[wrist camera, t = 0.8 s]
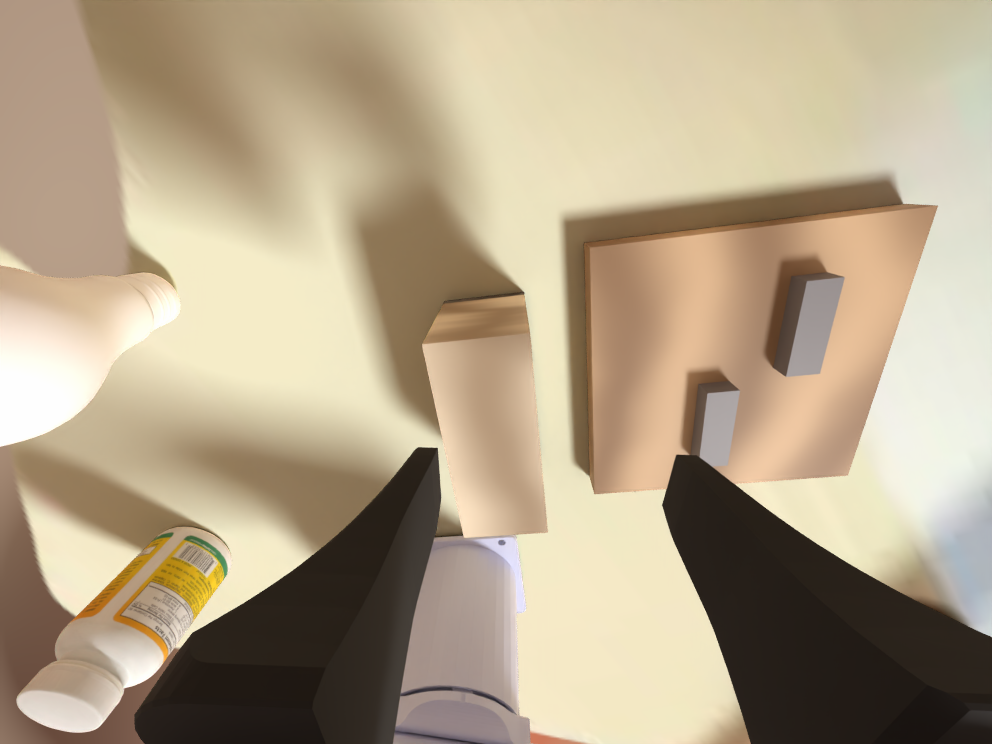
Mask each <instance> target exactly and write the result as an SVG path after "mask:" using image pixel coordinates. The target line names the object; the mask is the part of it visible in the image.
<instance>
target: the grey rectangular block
mask: <svg viewBox="0 0 992 744" xmlns="http://www.w3.org/2000/svg"><path fill="white" fill-rule="evenodd" d="M844 279H845V277H843V276H839V275H836V274H832V273H829V272H824V273H815V274H806V275H797V276H791V281H790V286H789V291H788V296H787V301H786V306H785V311H784V316H783V321H782V326H781V331H780V336H779V341H778V346H777V351H776V356H775V361H774V366H773V368H774V369H775V370H777V371H778V372H780V373H781V374H782V375H784V376H785V377H792V376H803V375H814V374H820V372H821V368H822V364H823V360H824V356H825V352H826V348H827V345H828V341H829V337H830V333H831V329H832V325H833V321H834V318H835V314H836V310H837V306H838V302H839V298H840V294H841V291H842V287H843V283H844Z"/></svg>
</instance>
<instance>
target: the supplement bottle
mask: <svg viewBox="0 0 992 744" xmlns="http://www.w3.org/2000/svg"><path fill="white" fill-rule="evenodd" d="M231 566H232V557H231V553H230V551H229V549H228V547H227V546H226V545H225V544H224V543H223V542H222V541H221V540H220V539H219V538H217V537H216V536H215V535H213V534H211V533H209V532H207V531H204V530H201V529H198V528H194V527H175V528H171V529H168V530H166V531H164V532H162V533H161V534H159V535H158V536H157V537H156V538H155V539H154V540H153V541H152V542H151V543H150V544H149V545H148V546H147V547H146V548H145V549H144V550H143V551H142V552H141V553H140V554H139V555H138V556H137V557H136V558H135V559H134V560H133V561H132V562H131V563H130V564H129V565H128V566H127V567H126V568H125V569H124V570H123V571H122V572H121V573H120V574H119V575H118V576H117V577H116V578H115V579H114V580H113V581H112V582H111V583H110V584H109V585H108V586H107V587H106V588H105V589H104V590H103V591H102V592H101V593H100V594H99V595H98V596H97V597H96V598H95V599H94V600H92V601H91V602H90V604H88V605H87V606H86V607H85V608H84V609H83V610H82V611H81V612H80V613H79V614H78V615H77V616H76V617H75V618H74V620H72V621H71V622H70V623H69V624H68V625H67V626H66V628H65V629H64V630H63V631H62V632H61V634H60V635H59V637H58V639H57V641H56V646H55V655H56V658H57V661H55V662H53V663H51V664H49V665H48V666H47V667H45V668H43V669H42V670H40V671H39V673H38V674H37V675H36V676H35V677H34V678H33V679H32V680H31V682H30V683H29V684H28V685H27V686H26V687H25V688H24V689H23V690H22V691H21V692H20V694H19V695H18V697H17V700H16V702H17V705H18V707H19V709H21V711H22V712H23V713H24V714H26V715H27V716H28V717H29V718H31V719H33V720H34V721H36V722H38V723H40V724H42V725H45V726H47V727H50V728H54V729H58V730H62V731H68V732H88V731H92V730H95V729H97V728H98V727H99V726H100V725H101V724H102V723H103V722H104V721H105V719H106V718H107V717H108V716H109V714H110V713H111V712H112V710H113V709H114V708H115V707H116V705H117V704H118V703H119V701H120V699H121V697H122V695H123V693H124V688H126V687H131V686H134V685H137V684H139V683H141V682H143V681H145V680H147V679H148V678H150V677H151V676H152V675H153V674H154V673H155V672H156V671H157V670H158V669H159V668H160V666H161V665H162V664H163V662H164V661H165V660H166V658H167V657H168V656H169V654H170V653H171V651H172V650H173V649H174V647H175V646H176V644H177V643H178V642H179V640H180V639H181V638H182V636H183V635H184V633H185V632H186V631H187V629H188V628H189V626H190V625H191V624H192V622H193V621H194V619H195V618H196V617H197V615H198V614H199V613H200V611H201V610H202V608H203V607H204V606H205V604H206V603H207V601H208V600H209V599H210V597H211V596H212V595H213V593H214V592H215V591H216V589H217V588H218V586H219V585H220V584H221V582H222V581H223V580H224V578H225V577H226V575H227V574H228V572H229V571H230V569H231Z"/></svg>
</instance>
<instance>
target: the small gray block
mask: <svg viewBox="0 0 992 744" xmlns="http://www.w3.org/2000/svg"><path fill="white" fill-rule="evenodd" d="M739 394H740V390H739V389H738V388H737V387H736V386H734V385H733V384H732V383H731V382H730V381H723V382H713V383H702V384H698V392H697V401H696V409H695V418H694V427H693V436H692V445H691V454H690V455H697V456H699V457H700V458H701V459H703V460H704V461H705V462H707V463H708V464H709V465H711V466H712V467H714V466H727V465H728V460H729V454H730V448H731V442H732V436H733V430H734V424H735V418H736V412H737V406H738V400H739Z"/></svg>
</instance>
